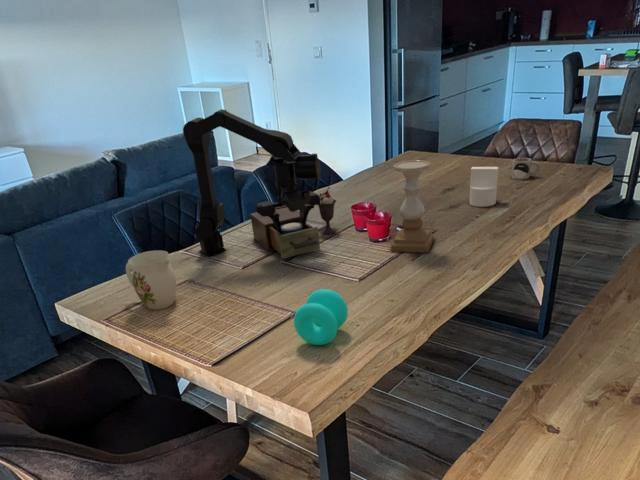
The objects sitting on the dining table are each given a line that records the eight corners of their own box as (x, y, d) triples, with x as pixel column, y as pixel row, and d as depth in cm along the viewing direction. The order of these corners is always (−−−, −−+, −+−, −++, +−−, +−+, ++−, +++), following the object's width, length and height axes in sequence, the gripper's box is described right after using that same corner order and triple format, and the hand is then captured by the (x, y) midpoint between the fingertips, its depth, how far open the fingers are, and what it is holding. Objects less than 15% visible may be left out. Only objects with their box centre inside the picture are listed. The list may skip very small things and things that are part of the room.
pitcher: (149, 290, 160) (136, 244, 153) (196, 299, 151) (185, 251, 144) (119, 306, 152) (104, 258, 145) (168, 317, 144) (154, 267, 136)
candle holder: (433, 239, 173) (434, 159, 160) (427, 252, 164) (428, 169, 152) (398, 238, 176) (397, 159, 164) (390, 251, 168) (388, 169, 155)
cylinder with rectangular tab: (467, 206, 197) (468, 171, 190) (471, 198, 204) (473, 164, 197) (493, 207, 193) (496, 171, 187) (497, 199, 200) (500, 164, 194)
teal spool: (294, 345, 126) (289, 305, 121) (311, 323, 134) (306, 285, 128) (336, 350, 122) (332, 309, 117) (350, 327, 130) (348, 288, 125)
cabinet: (307, 241, 182) (305, 215, 177) (268, 251, 178) (264, 224, 173) (291, 229, 193) (288, 205, 188) (254, 238, 189) (250, 213, 184)
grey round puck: (276, 235, 174) (274, 227, 172) (294, 229, 177) (293, 220, 176) (290, 240, 169) (289, 231, 167) (308, 233, 172) (307, 224, 171)
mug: (511, 179, 219) (512, 162, 216) (511, 175, 224) (513, 158, 221) (538, 179, 216) (540, 161, 213) (538, 174, 222) (540, 157, 218)
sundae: (336, 234, 185) (333, 188, 177) (316, 235, 186) (312, 189, 178) (340, 227, 190) (336, 182, 182) (320, 228, 191) (316, 183, 184)
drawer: (326, 253, 169) (324, 231, 165) (288, 263, 165) (285, 241, 161) (303, 237, 183) (301, 216, 179) (267, 246, 179) (264, 225, 175)
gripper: (265, 192, 155) (272, 246, 163) (326, 179, 161) (330, 231, 169) (252, 184, 164) (260, 235, 172) (310, 171, 170) (315, 222, 178)
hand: (291, 231), depth 173 cm, fingers closed on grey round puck, 7 cm apart
